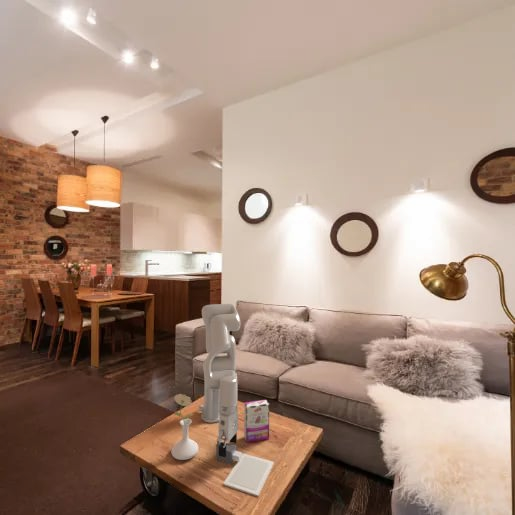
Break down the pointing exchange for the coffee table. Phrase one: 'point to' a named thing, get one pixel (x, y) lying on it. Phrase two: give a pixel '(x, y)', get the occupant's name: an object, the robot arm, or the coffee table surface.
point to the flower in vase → (184, 433)
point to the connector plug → (229, 454)
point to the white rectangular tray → (249, 474)
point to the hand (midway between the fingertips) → (227, 449)
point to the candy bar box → (256, 420)
